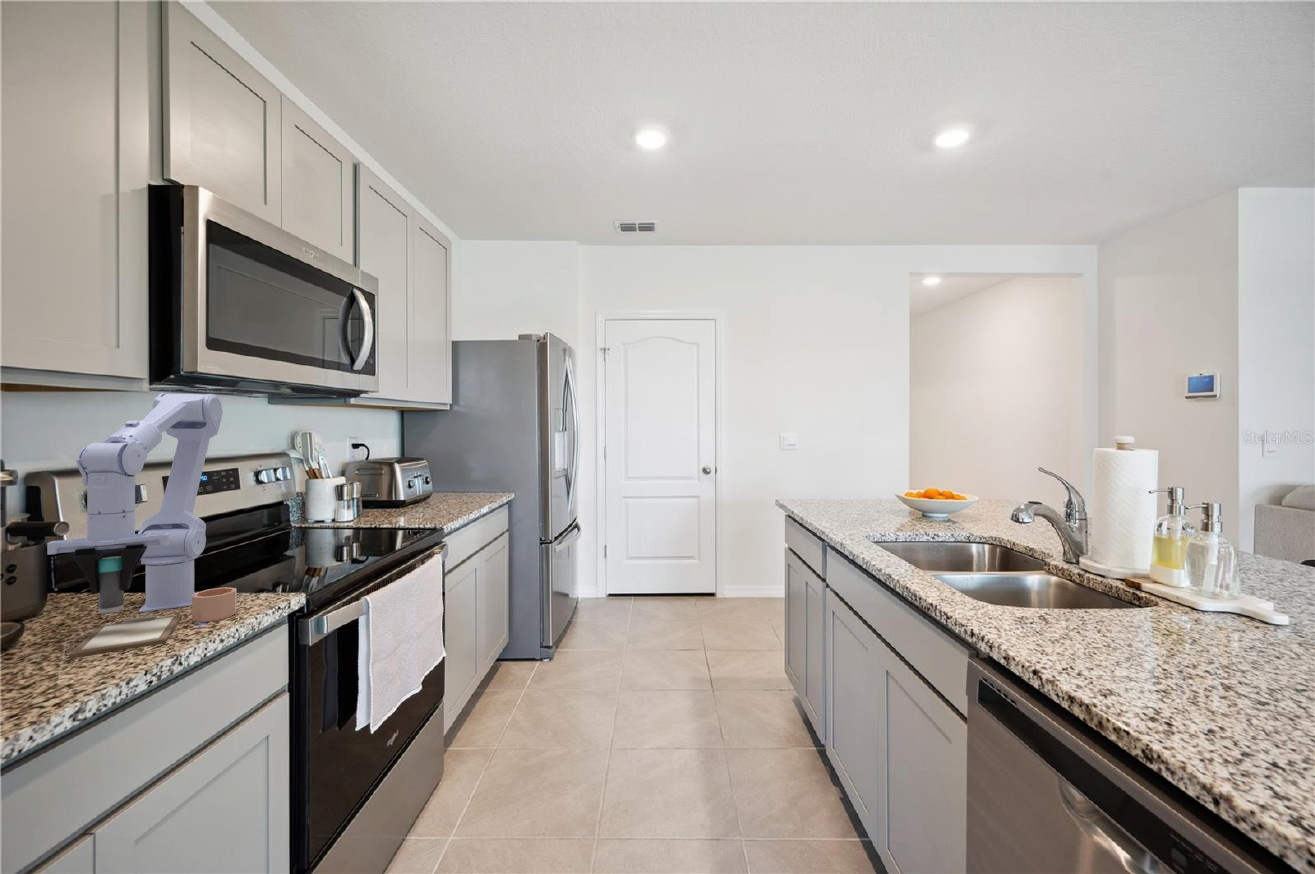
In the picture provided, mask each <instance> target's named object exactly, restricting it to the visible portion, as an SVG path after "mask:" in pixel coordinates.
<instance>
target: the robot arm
mask: <svg viewBox="0 0 1315 874" xmlns="http://www.w3.org/2000/svg"><path fill="white" fill-rule="evenodd" d="M223 411H224V410H223V406H222V402H221V400H220V399H219V397H218V396H217V395H216V394H214V393H208V394H201V393H199V394H197V393H196V394H195V393H194V394H193V393H191V394H190V393H189V394H187V393H184V394H183V393H169V392H161V393H159V394H158V395H157V396H156V397H154V398H153V403H152V410H151V411H150V412H149V413H147V415H146V416H144V418H143V419H142V420H128V421H126V422H124V425H123V426H122V427H120V428H119V429H118V430H116V431H115V432H114V433H113V434H111V435H110V436H108V437H107V438H105V440H103V441H102V442H92V443H90V444H89V445H87V446H84V447H83V448H82V449H81V450H80V452H79V454H78V459H76V465H77V469H78V471H79V473H80V474H81V477H82V484H83V487H86V489H87V490H86V491H87V493H86V496H87V497H86V499H87V500H86V501H87V503H86V504H87V506H86V511H87V513H86V515H87V518H86V525H87V529H86V530H87V535H86V537H83V538H73V539H64V540H63V539H60V540H51V541H49V542H47V544H46V545H47V551H46V553H47V554H46V555H58V554H63V553H73V552H74V555H73V556H72V559H73V561H74V562H75V563H76V565H77V566H78V567H79V569H80V570H81V571H82V573H83V574H84V576H85V579H86V580H87V582H88V585H89V588H90V591H91V595H95V594H99V572H98V560H99V559H102V558H103V552H104V550H109V549H110V550H114V549H122V550H121V551H120V556H121V560H122V571H123V572H122V585H121V586H122V591H124V592H125V591H128V590H130V588H131V587H132V582H133V578H134V574H135V571H136V569H137V567H138V566H139V565H138V564H139V563H140V564H141V565H145V603H144V604H143V605H142V606H141V607H140V609H138V613H146V612H147V613H148V612H154V611H155V610H156V611H163V610H169V609H177V608H185V607H192V596H193V595H194V593H197V592H198V591H195V559H197V558H198V557H199V556H200V555H201V554H202V553H203V552H204V550H205V548H206V543H207V536H206V530H207V524H206V522H205V521H204V520H202V519H201V518H200V517H199V516H198V515H197V516H196V515H195V514H194V513H193V512H194V508H195V504H196V499H197V496H198V491H199V487H200V483H201V479H202V474H203V470H204V465H205V460H206V456H207V452H208V448H209V444H210V439H212V438H213V437H215V436H217V435H218V433H219V429H220V426H221V421H222V418H223V414H224V413H223ZM164 432H165V434H167V435H168V436H170V437H172V438H174V439H175V438H176V439H177V445H176V448H175V453H174V455H173V460H172V465H171V468H170V471H169V475H168V480H167V483H166V486H165V490H164V491H165V492H164V495H163V499H162V503H161V506H160V509H159V512H157V513H155V514H153V515H152V516H149V517H148V518H147V519H144V520H143V521H142V523H141V526H140V528H139V530H138V533H136V475H138V474H140V473H141V472H142V470H143V468H144V466H145V465H144V464H145V462H146V460H147V459H148V454H149V453H150V452H151V451H152V450H154V449H155V448H156V447H157V446H159V444H160V443H161V442H162V439H163V435H162V433H164ZM140 561H141V562H140Z"/></svg>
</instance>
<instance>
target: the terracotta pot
mask: <svg viewBox="0 0 1315 874" xmlns="http://www.w3.org/2000/svg"><path fill="white" fill-rule="evenodd" d="M196 592H197V593H194V595H193V596H192V606H191V621H192V622H197V623H207V622H213V621H221V620H220V619H222V620H224V619H227V618H230V617H233V616H235V615H236V614H237V609H238V607H237V598H238V597H237V595H238V594H237V587H227V586H224V587H219V588H218V587H216V588H210V589H205V590H202V591H201V590H200V591H196ZM234 614H235V615H234ZM232 615H233V616H232Z"/></svg>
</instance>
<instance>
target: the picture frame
mask: <svg viewBox="0 0 1315 874" xmlns="http://www.w3.org/2000/svg"><path fill="white" fill-rule="evenodd" d="M182 617H183V614H178V615H169V616H163V617H157V615H150V616H149V615H148V616H142V617H133V618H126V619H125V620H124V621H123V622H121V623H119V622H118V623H113V624H105V625H99V626H97V627H96V628H95V629H94V630H93V631H92V632H91V633H90V634H89V635H88V636H87V637H86V638H85V639H84V640H82V642H80V643H79V644H78V645H77V646H76V647H75V648H74V649H73V650H71V652H69V654H68V659H72V658H80V657H85V656H93V655H97V654H103V653H110V652H116V651H123V650H129V649H135V648H141V647H142V648H143V647H147V646H153V645H154V646H155V645H160V644H165V643H167V641H168V639H169V638H170V636H171V635H172V634H171V633H174V631H175V629H176V627H177V626H178V625H179V623H180V622H181V620H182Z"/></svg>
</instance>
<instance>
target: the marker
mask: <svg viewBox="0 0 1315 874" xmlns="http://www.w3.org/2000/svg"><path fill="white" fill-rule="evenodd" d="M98 572H99V593H98V614H110V613H116V612H120V611H122V610H124V609H125V602H124V599H125V590H124V591H122V586H121V585H122V572H123V571H122V560H121V555H120V556H119V555H117V556H107V557H102V559H99V560H98Z"/></svg>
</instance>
